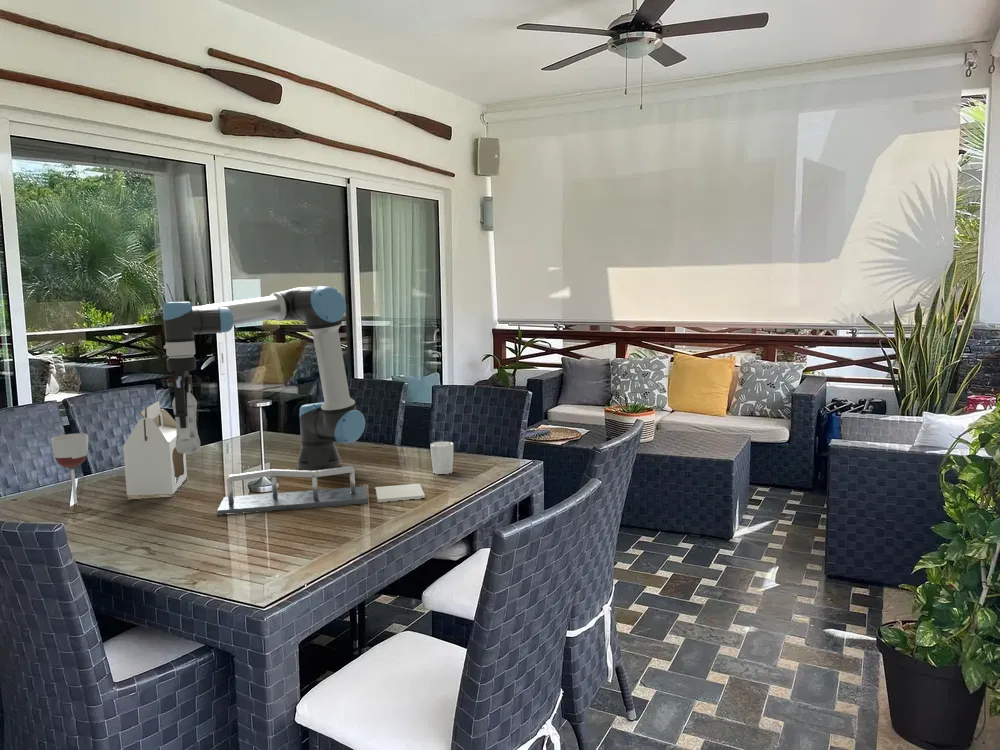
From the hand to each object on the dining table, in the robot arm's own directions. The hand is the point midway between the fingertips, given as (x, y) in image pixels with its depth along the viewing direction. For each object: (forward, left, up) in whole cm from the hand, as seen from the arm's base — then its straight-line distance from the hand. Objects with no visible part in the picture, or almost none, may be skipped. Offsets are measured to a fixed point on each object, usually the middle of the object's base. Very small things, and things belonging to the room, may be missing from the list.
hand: (187, 436), depth 211 cm
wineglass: (-11, -34, -22) cm, 42 cm away
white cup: (-23, +77, -22) cm, 83 cm away
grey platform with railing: (0, +29, -22) cm, 36 cm away
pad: (0, +60, -22) cm, 64 cm away
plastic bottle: (0, 0, -5) cm, 5 cm away
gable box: (-28, -15, -22) cm, 39 cm away
